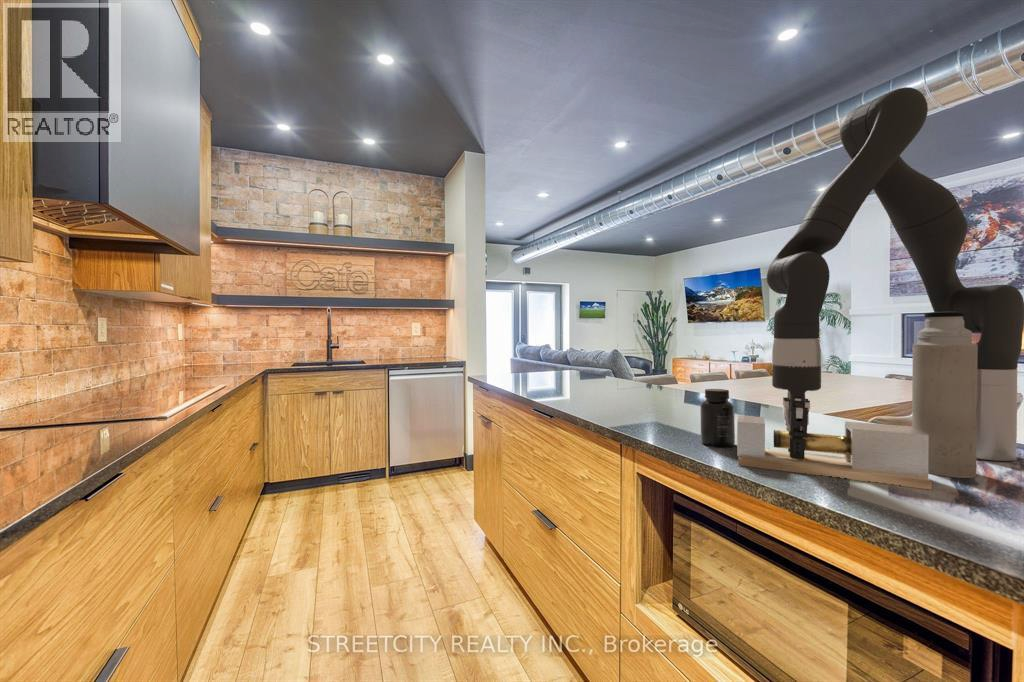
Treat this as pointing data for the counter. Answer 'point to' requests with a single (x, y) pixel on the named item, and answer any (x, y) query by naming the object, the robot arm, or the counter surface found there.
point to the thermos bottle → (946, 393)
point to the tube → (816, 442)
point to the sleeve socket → (856, 446)
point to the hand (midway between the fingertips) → (795, 455)
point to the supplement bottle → (717, 419)
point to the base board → (828, 468)
